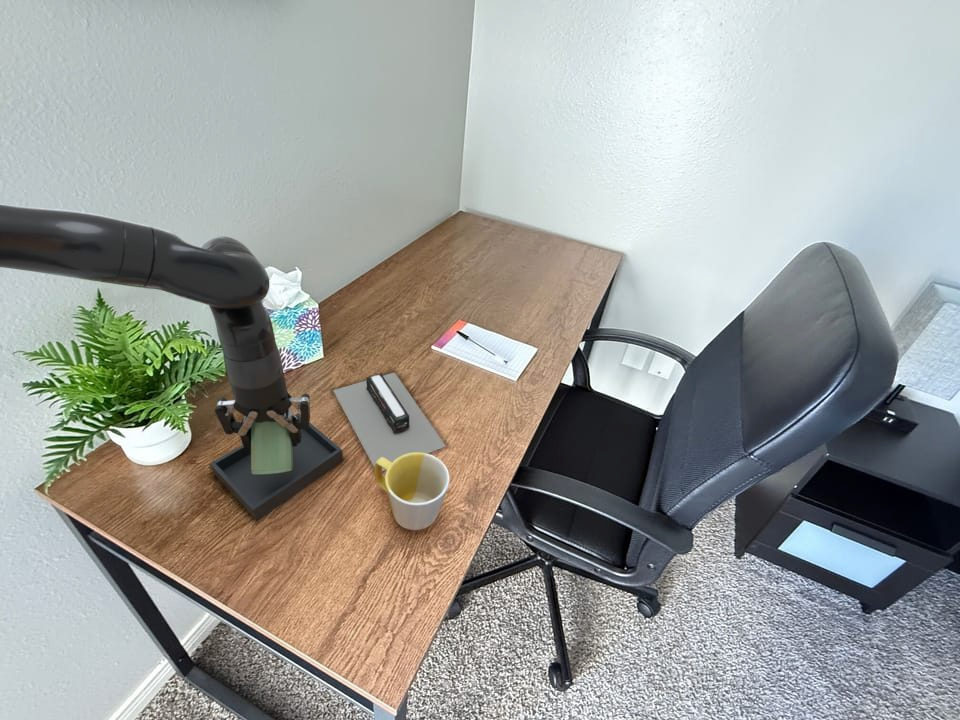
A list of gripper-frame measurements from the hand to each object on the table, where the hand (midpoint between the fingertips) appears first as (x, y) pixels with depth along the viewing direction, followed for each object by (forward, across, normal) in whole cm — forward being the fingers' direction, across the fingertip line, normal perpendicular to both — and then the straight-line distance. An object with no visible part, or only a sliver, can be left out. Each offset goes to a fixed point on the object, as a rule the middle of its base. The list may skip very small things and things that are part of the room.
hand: (273, 444), depth 80 cm
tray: (+7, 0, 0) cm, 7 cm away
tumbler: (+2, 0, +4) cm, 5 cm away
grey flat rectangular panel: (+7, -20, -12) cm, 24 cm away
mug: (+7, -23, +11) cm, 26 cm away
